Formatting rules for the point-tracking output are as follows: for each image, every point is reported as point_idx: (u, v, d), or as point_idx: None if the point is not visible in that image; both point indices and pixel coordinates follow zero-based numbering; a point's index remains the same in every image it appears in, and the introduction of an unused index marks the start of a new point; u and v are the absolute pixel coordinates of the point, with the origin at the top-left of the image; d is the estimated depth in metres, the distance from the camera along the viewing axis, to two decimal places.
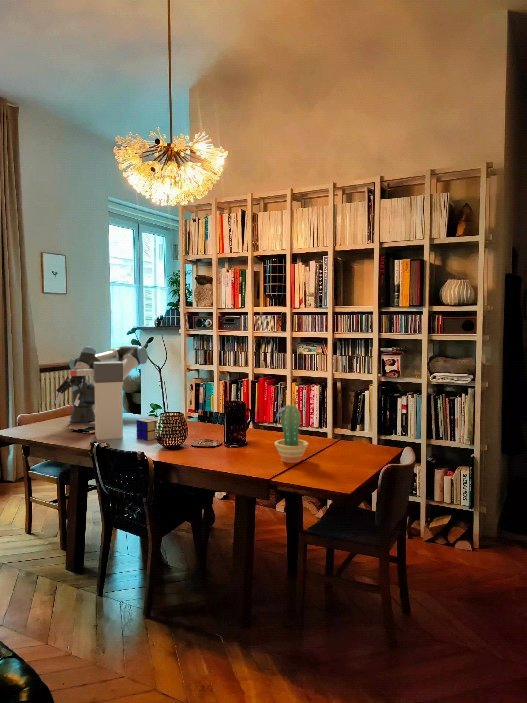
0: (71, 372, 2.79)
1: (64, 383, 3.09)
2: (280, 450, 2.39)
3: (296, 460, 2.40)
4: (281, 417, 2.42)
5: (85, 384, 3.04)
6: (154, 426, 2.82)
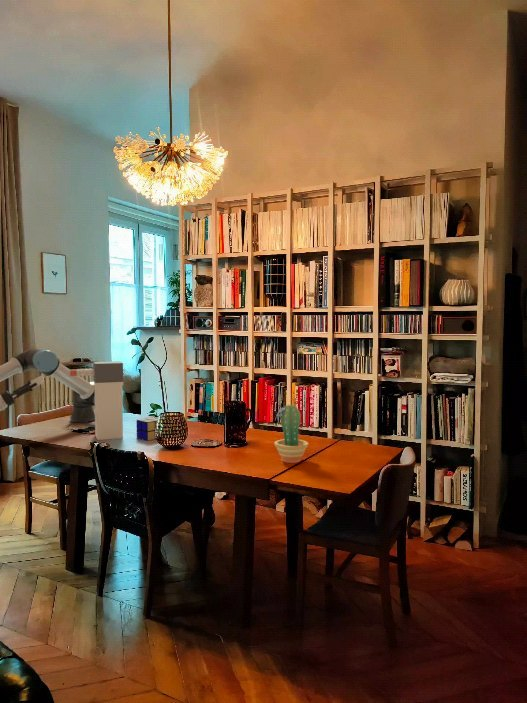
0: (71, 372, 2.79)
1: None
2: (280, 450, 2.39)
3: (296, 460, 2.40)
4: (281, 417, 2.42)
5: (18, 393, 2.71)
6: (154, 426, 2.82)
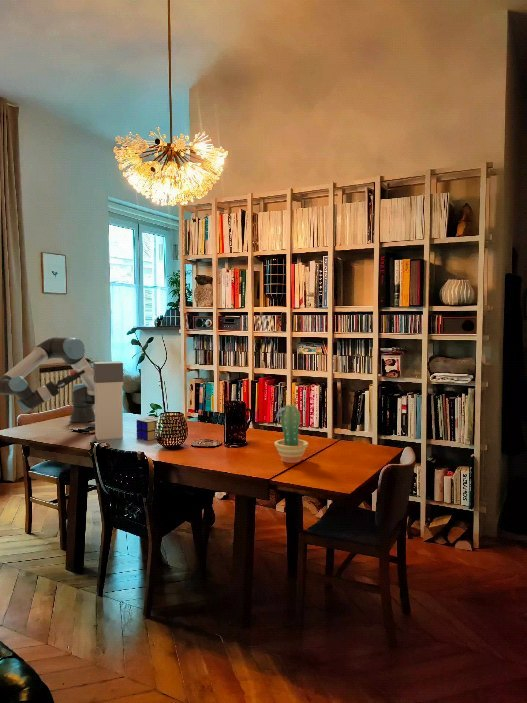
0: (71, 372, 2.79)
1: None
2: (280, 450, 2.39)
3: (296, 460, 2.40)
4: (281, 417, 2.42)
5: (67, 381, 2.74)
6: (154, 426, 2.82)
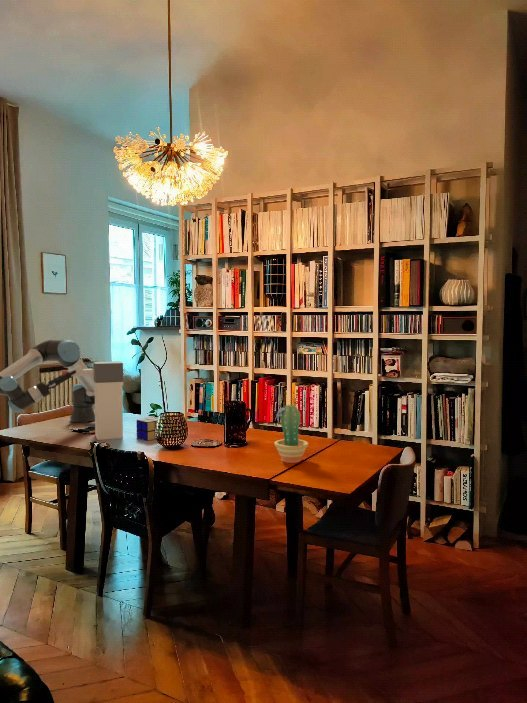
0: (62, 372, 2.77)
1: None
2: (280, 450, 2.39)
3: (296, 460, 2.40)
4: (281, 417, 2.42)
5: (58, 382, 2.73)
6: (154, 426, 2.82)
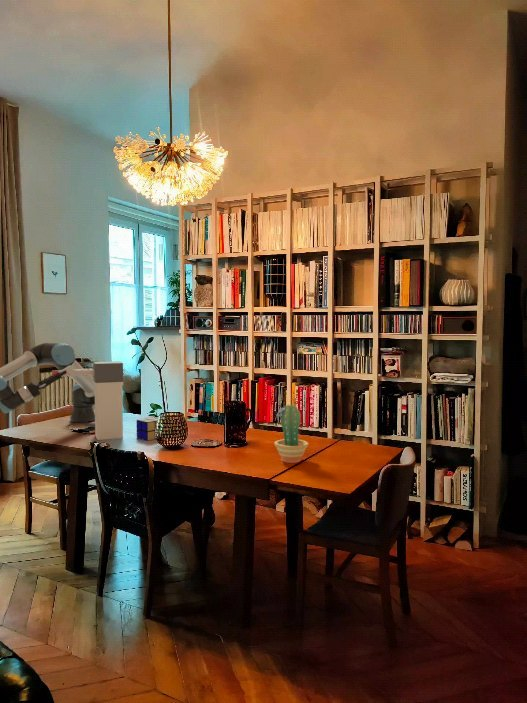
0: (52, 373, 2.75)
1: None
2: (280, 450, 2.39)
3: (296, 460, 2.40)
4: (281, 417, 2.42)
5: (48, 382, 2.71)
6: (154, 426, 2.82)
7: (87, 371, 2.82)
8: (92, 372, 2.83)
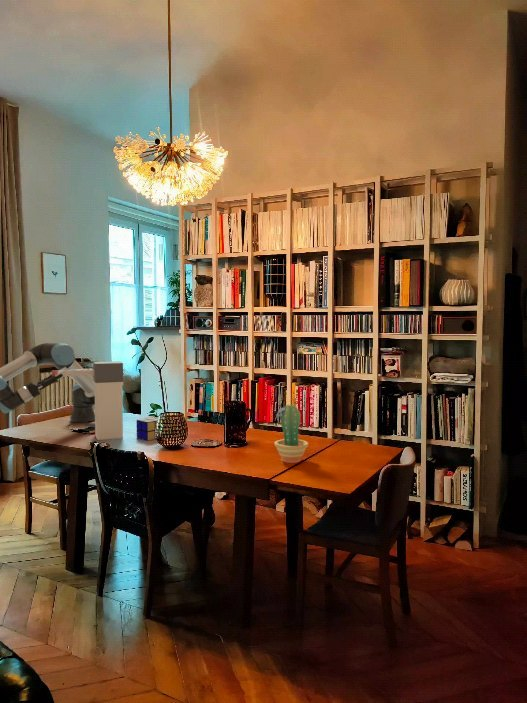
0: (52, 373, 2.75)
1: None
2: (280, 450, 2.39)
3: (296, 460, 2.40)
4: (281, 417, 2.42)
5: (44, 385, 2.68)
6: (154, 426, 2.82)
7: (87, 371, 2.82)
8: (92, 372, 2.83)
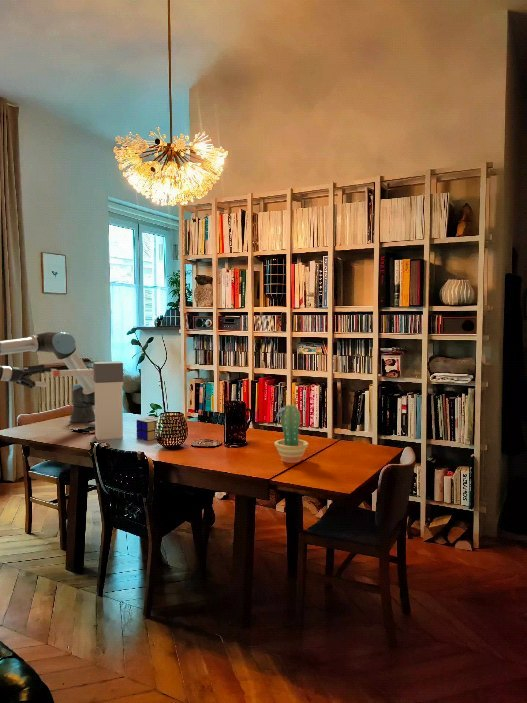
0: (54, 373, 2.76)
1: (24, 383, 2.83)
2: (280, 450, 2.39)
3: (296, 460, 2.40)
4: (281, 417, 2.42)
5: (31, 368, 2.74)
6: (154, 426, 2.82)
7: (88, 371, 2.82)
8: (94, 372, 2.83)
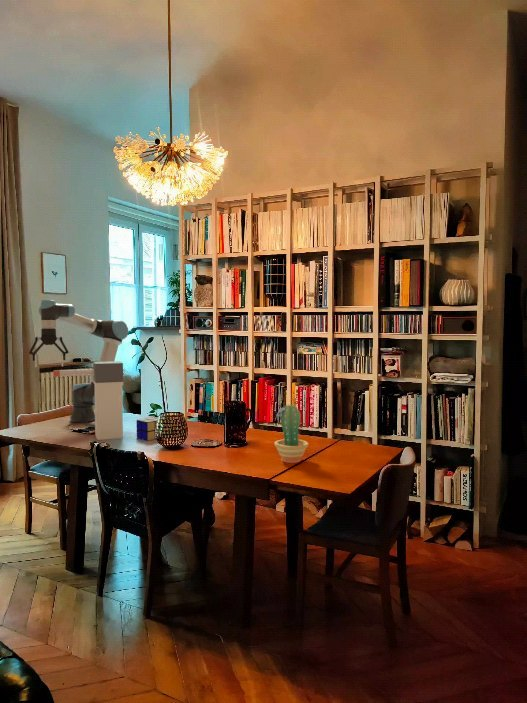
0: (54, 373, 2.76)
1: (35, 344, 2.92)
2: (280, 450, 2.39)
3: (296, 460, 2.40)
4: (281, 417, 2.42)
5: None
6: (154, 426, 2.82)
7: (88, 371, 2.82)
8: (94, 372, 2.83)
